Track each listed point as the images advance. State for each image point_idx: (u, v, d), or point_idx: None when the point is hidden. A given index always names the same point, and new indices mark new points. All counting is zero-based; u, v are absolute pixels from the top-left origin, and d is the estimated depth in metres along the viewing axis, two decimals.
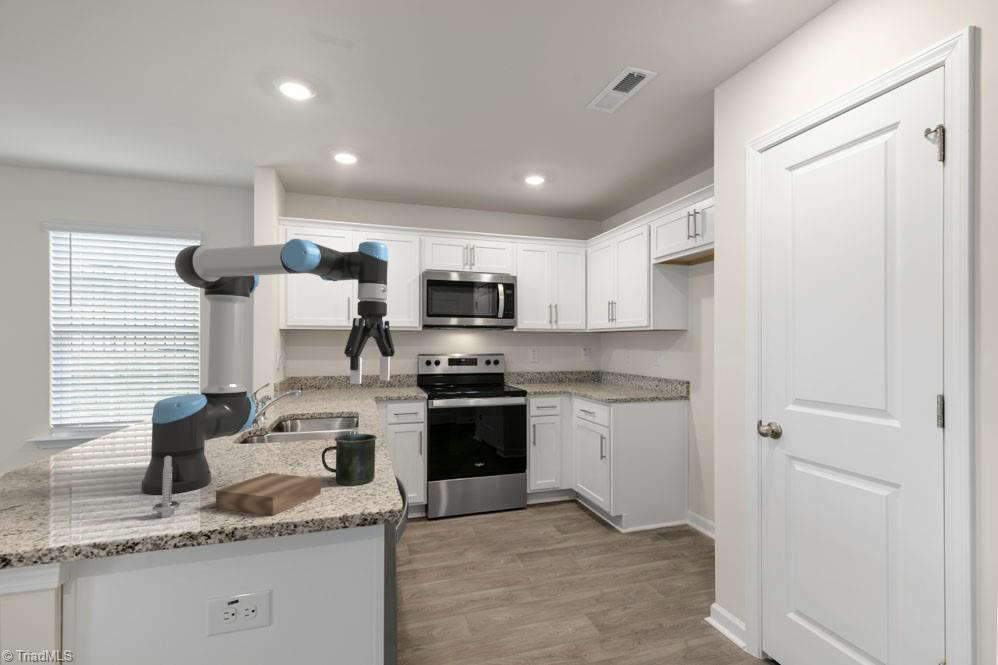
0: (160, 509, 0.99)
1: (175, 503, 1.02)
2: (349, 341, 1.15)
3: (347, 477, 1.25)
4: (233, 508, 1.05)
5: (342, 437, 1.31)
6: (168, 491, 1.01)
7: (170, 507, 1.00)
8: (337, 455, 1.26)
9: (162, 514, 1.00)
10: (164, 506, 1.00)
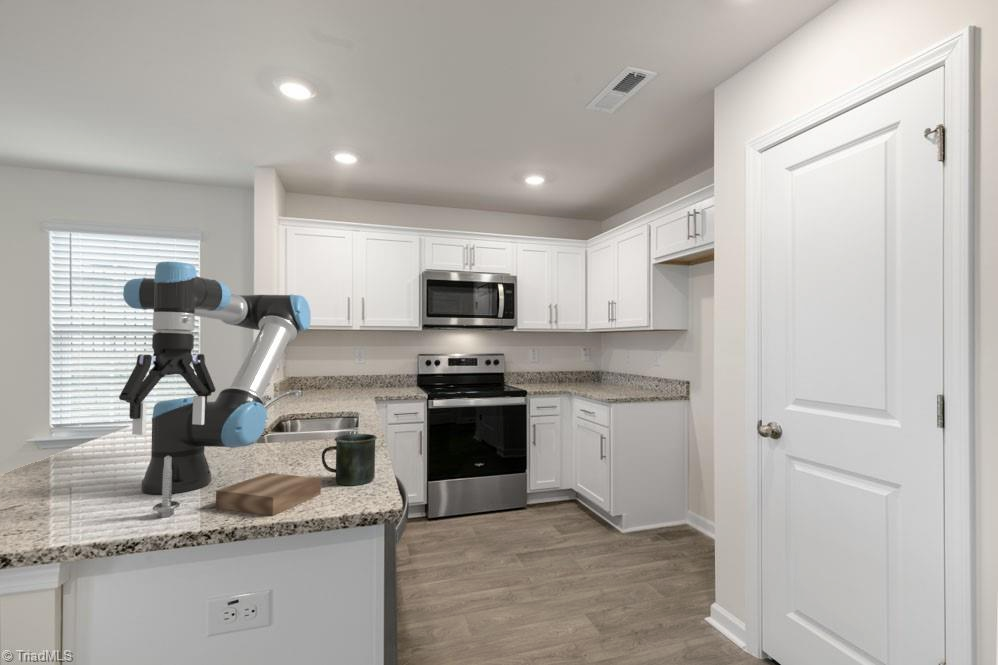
0: (160, 509, 0.99)
1: (175, 503, 1.02)
2: (127, 384, 0.94)
3: (347, 477, 1.25)
4: (233, 508, 1.05)
5: (342, 437, 1.31)
6: (168, 491, 1.01)
7: (170, 507, 1.00)
8: (337, 455, 1.26)
9: (162, 514, 1.00)
10: (164, 506, 1.00)
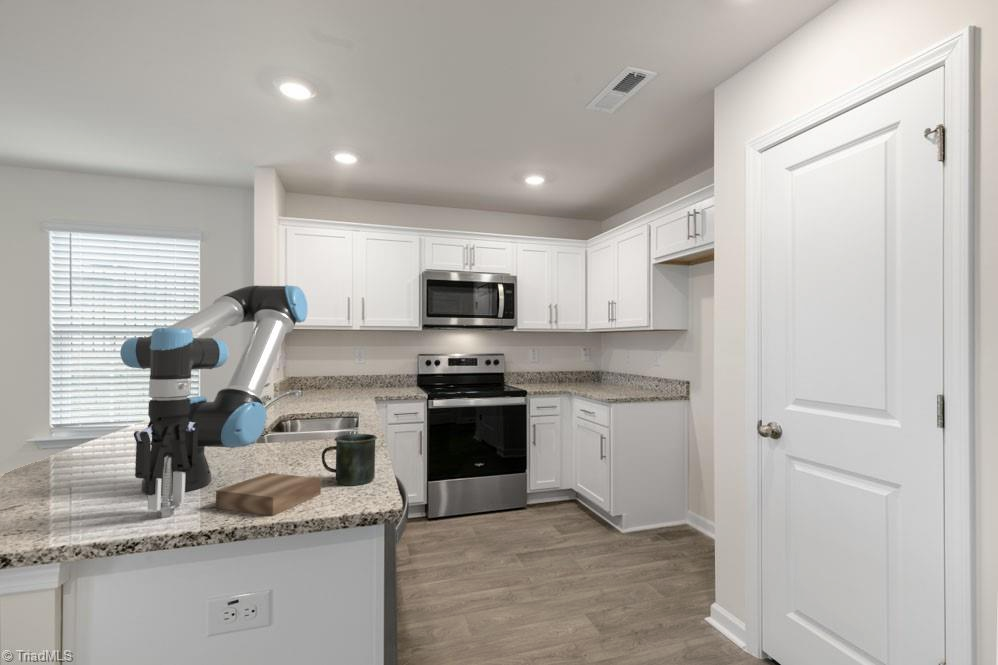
0: (160, 509, 0.99)
1: (175, 503, 1.02)
2: (137, 463, 0.96)
3: (347, 477, 1.25)
4: (233, 508, 1.05)
5: (342, 437, 1.31)
6: (168, 491, 1.01)
7: (170, 507, 1.00)
8: (337, 455, 1.26)
9: (162, 514, 1.00)
10: (164, 506, 1.00)
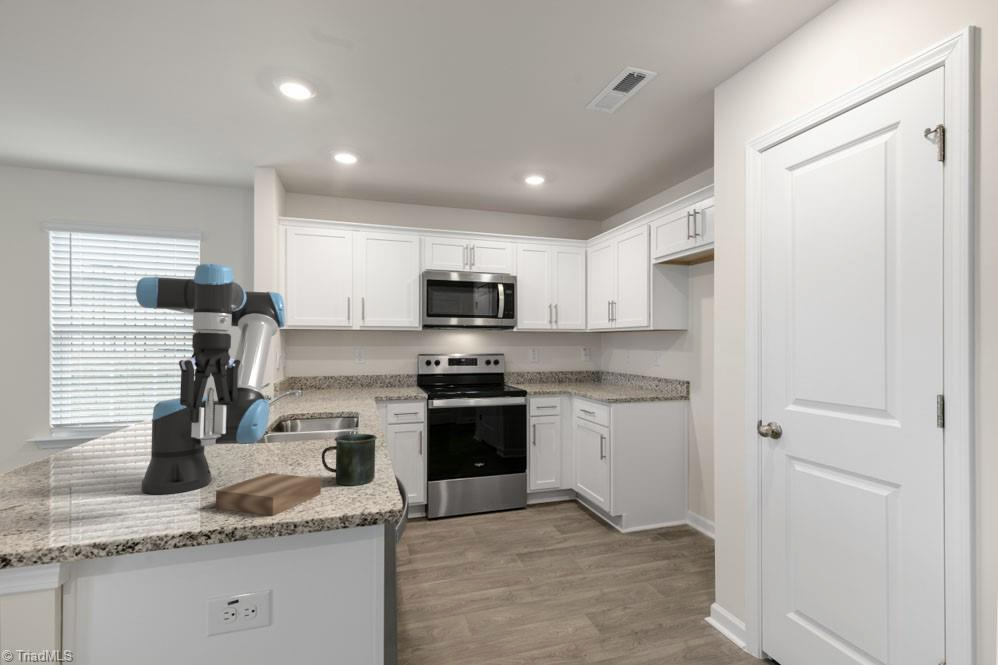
0: (203, 437, 1.03)
1: (216, 433, 1.06)
2: (182, 390, 1.01)
3: (347, 477, 1.25)
4: (233, 508, 1.05)
5: (342, 437, 1.31)
6: (210, 421, 1.05)
7: (212, 436, 1.04)
8: (337, 455, 1.26)
9: (204, 443, 1.04)
10: (206, 435, 1.04)
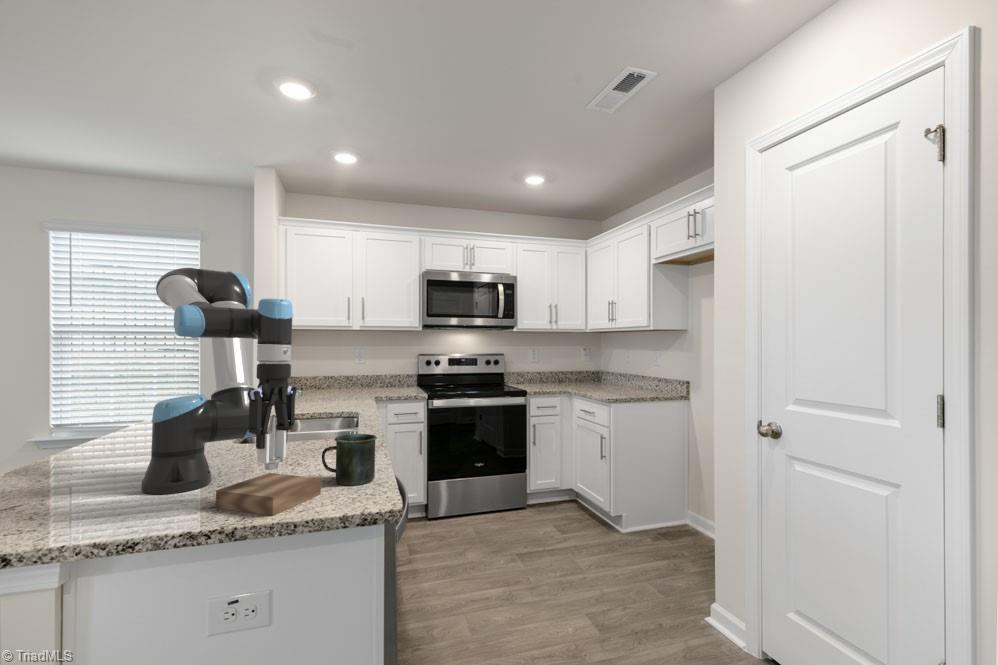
0: (268, 462, 1.10)
1: (279, 458, 1.13)
2: (250, 419, 1.07)
3: (347, 477, 1.25)
4: (233, 508, 1.05)
5: (342, 437, 1.31)
6: (274, 446, 1.12)
7: (276, 460, 1.11)
8: (337, 455, 1.26)
9: (269, 467, 1.11)
10: (271, 460, 1.11)
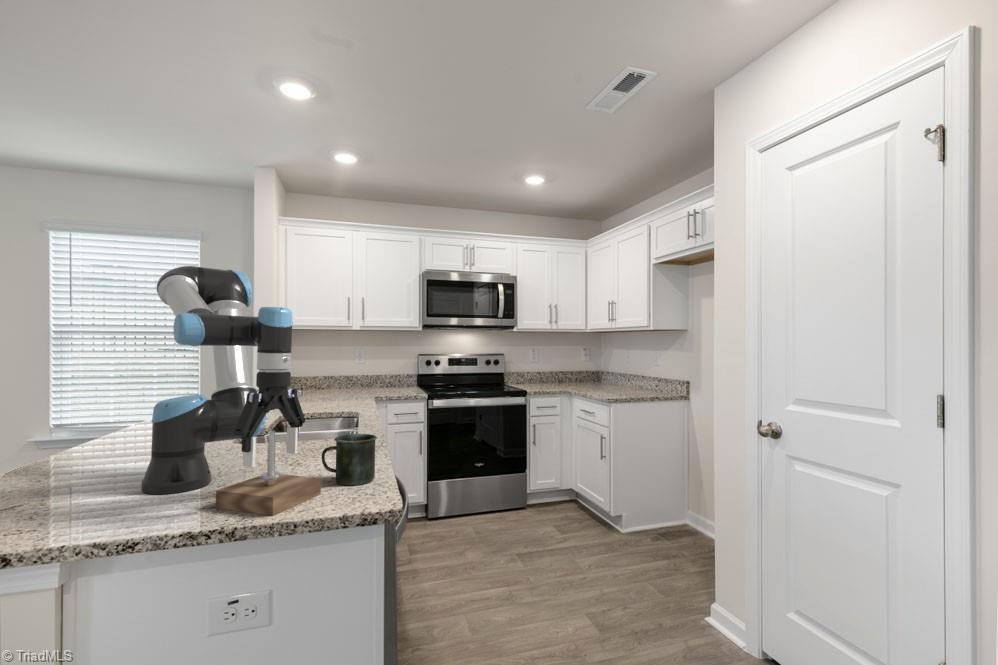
0: (267, 478, 1.10)
1: (278, 473, 1.13)
2: (240, 420, 1.04)
3: (347, 477, 1.25)
4: (233, 508, 1.05)
5: (342, 437, 1.31)
6: (273, 462, 1.12)
7: (275, 476, 1.11)
8: (337, 455, 1.26)
9: (268, 482, 1.11)
10: (270, 475, 1.11)
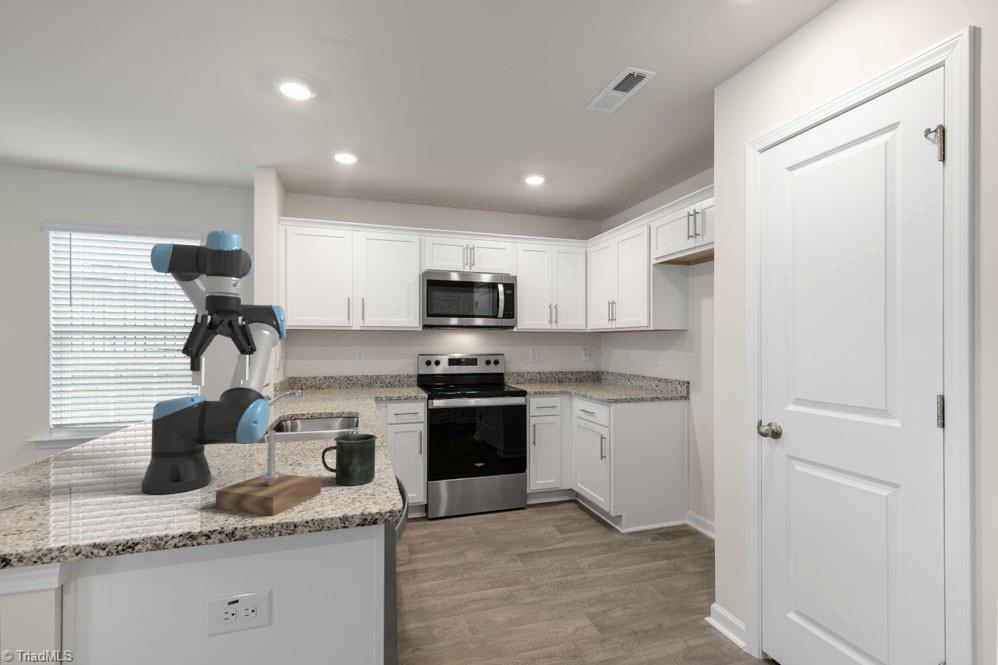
0: (267, 477, 1.10)
1: (278, 473, 1.13)
2: (188, 339, 1.05)
3: (347, 477, 1.25)
4: (233, 508, 1.05)
5: (342, 437, 1.31)
6: (273, 462, 1.12)
7: (275, 476, 1.11)
8: (337, 455, 1.26)
9: (268, 482, 1.11)
10: (270, 475, 1.11)
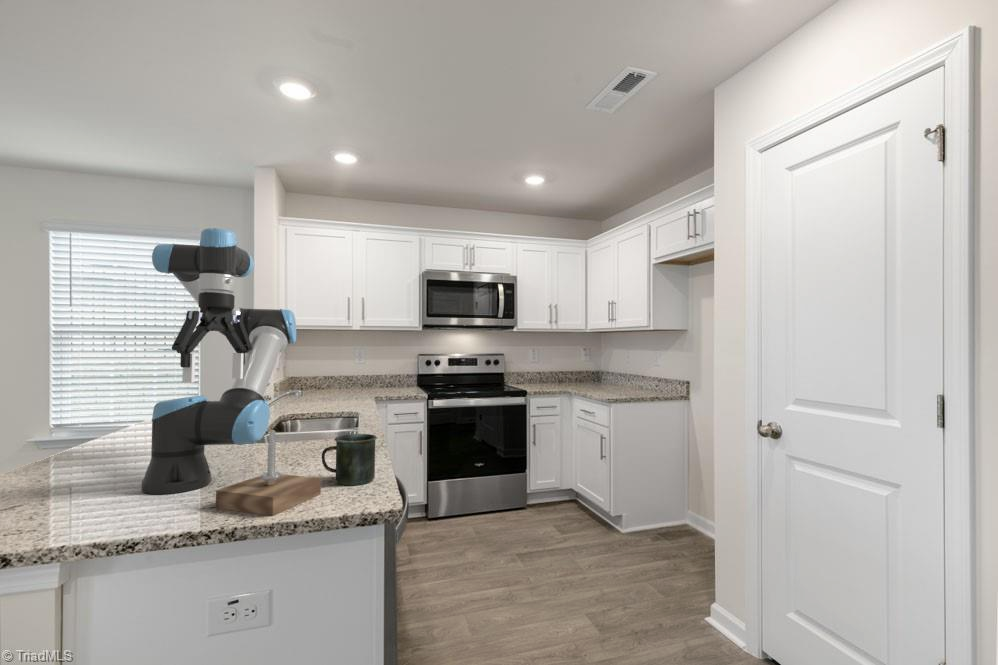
0: (267, 477, 1.10)
1: (278, 473, 1.13)
2: (179, 336, 1.05)
3: (347, 477, 1.25)
4: (233, 508, 1.05)
5: (342, 437, 1.31)
6: (273, 462, 1.12)
7: (275, 476, 1.11)
8: (337, 455, 1.26)
9: (268, 482, 1.11)
10: (270, 475, 1.11)
